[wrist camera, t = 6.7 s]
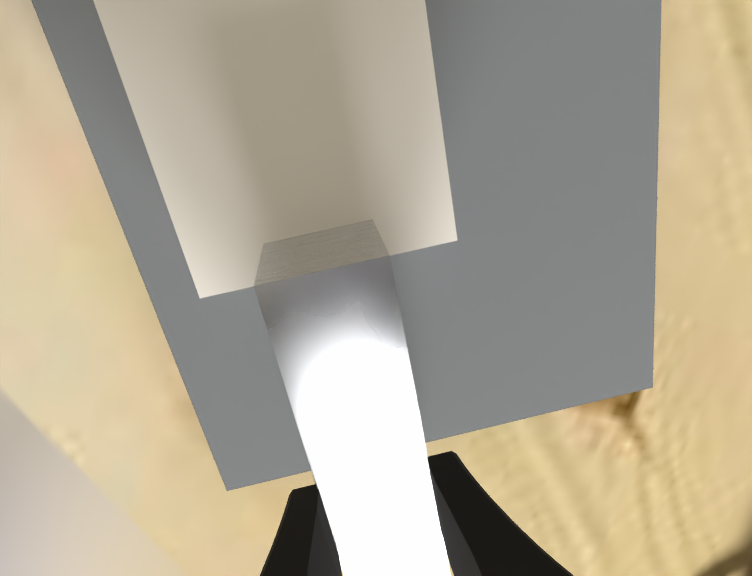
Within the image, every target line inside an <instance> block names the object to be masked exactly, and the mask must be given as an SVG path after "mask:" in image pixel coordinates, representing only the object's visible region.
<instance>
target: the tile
mask: <svg viewBox="0 0 752 576" xmlns="http://www.w3.org/2000/svg"><path fill="white" fill-rule="evenodd" d="M93 1H94V4H95V7H96V9H97V12H98V15H99V18H100V21H101V23H102V26H103V29H104V32H105V35H106V37H107V40H108V43H109V46H110V49H111V51H112V54H113V57H114V60H115V63H116V65H117V68H118V71H119V74H120V77H121V79H122V82H123V85H124V88H125V91H126V93H127V96H128V99H129V102H130V105H131V107H132V110H133V113H134V116H135V119H136V121H137V124H138V127H139V130H140V133H141V135H142V138H143V141H144V144H145V147H146V149H147V152H148V155H149V158H150V161H151V163H152V166H153V169H154V172H155V175H156V177H157V180H158V183H159V186H160V189H161V191H162V194H163V197H164V200H165V203H166V205H167V208H168V211H169V214H170V217H171V219H172V222H173V225H174V228H175V231H176V233H177V236H178V239H179V242H180V245H181V247H182V250H183V253H184V256H185V259H186V261H187V264H188V267H189V270H190V273H191V275H192V278H193V281H194V284H195V287H196V289H197V292H198V295H199V298H205V297H209V296H214V295H218V294H222V293H227V292H231V291H236V290H240V289H245V288H249V287H253V286H254V282H255V278H256V274H257V269H258V265H259V261H260V256H261V252H262V248H263V244H264V243H268V242H273V241H277V240H282V239H286V238H291V237H295V236H300V235H304V234H309V233H313V232H318V231H322V230H327V229H331V228H336V227H340V226H345V225H349V224H354V223H358V222H363V221H367V220H372V219H373V221H374V223H375V225H376V227H377V230H378V232H379V234H380V236H381V238H382V240H383V242H384V244H385V246H386V248H387V251H388V253H389V255H390V256H391V255H395V254H400V253H404V252H409V251H413V250H418V249H422V248H427V247H431V246H435V245H440V244H444V243H449V242H453V241H458V240H457V233H456V225H455V218H454V211H453V203H452V196H451V189H450V181H449V174H448V166H447V159H446V152H445V144H444V137H443V129H442V122H441V115H440V107H439V100H438V92H437V85H436V78H435V70H434V63H433V56H432V48H431V41H430V33H429V26H428V19H427V11H426V4H425V0H93Z"/></svg>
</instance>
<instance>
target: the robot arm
mask: <svg viewBox="0 0 752 576" xmlns="http://www.w3.org/2000/svg"><path fill="white" fill-rule="evenodd" d="M428 460H429V462H428V466H429V471H430V477H431V482H432V487H433V492H434V498H435V503H436V508H437V513H438V519H439V524H440V529H441V533H442V537H443V540H444V544H445V548H446V551H447V555H448V558H449V562H450V565H451V568H452V571H453V573H454V576H573V575H572V574H571V573H570V572H569V571H567V570H566V569H565V568H564V567H562V566H561V565H560V564H559V563H558V562H556V561H555V560H554V559H553V558H552V557H551V556H550V555H548V554H547V553H546V552H545V551H544V550H543V549H542V548H541V547H539V546H538V545H537V544H536V543H535V542H534V541H533V540H532V539H531V538H530V537H529V536H528V535H527V534H526V533H525V532H524V531H522V530H521V529H520V528H519V527H518V526H517V525H516V524H515V523H514V522H513V521H512V520H511V519H510V517H509V516H508V515H507V514H506V513H505V512H504V511H503V510H502V509H501V508H500V507H499V506H498V505H497V504H496V503H495V502H494V501H493V499H492V498H491V497H490V496H489V495H488V494H487V493H486V492H485V490H484V489H483V488H482V487H481V486H480V484H479V483H478V482H477V481H476V480H475V478H474V477H473V476H472V475H471V473H470V472H469V471H468V470H467V468H466V467H465V466H464V464H463V463H462V461H461V460H460V458H459V457H458V455H457V454H456V453H454V452H452V451H449V452H445V453H441V454H437V455H433V456H429V457H428ZM260 576H342V572H341V564H340V556H339V553H338V550H337V546H336V543H335V540H334V537H333V534H332V530H331V527H330V524H329V521H328V518H327V514H326V511H325V508H324V505H323V502H322V498H321V495H320V492H319V489H317V487H316V484H314V485H310V486H306V487H302V488H298V489H294V490H292V492H291V493H290V495H289V498H288V501H287V505H286V508H285V511H284V514H283V517H282V520H281V523H280V526H279V528H278V531H277V534H276V537H275V539H274V542H273V545H272V547H271V550H270V552H269V554H268V557H267V559H266V562H265V564H264V567H263V569H262V572H261V574H260Z"/></svg>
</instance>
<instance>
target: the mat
mask: <svg viewBox="0 0 752 576" xmlns="http://www.w3.org/2000/svg"><path fill="white" fill-rule="evenodd" d="M32 3H33V5H34V8H35V11H36V13H37V16H38V18H39V21H40V23H41V26H42V28H43V31H44V33H45V36H46V38H47V41H48V43H49V46H50V48H51V51H52V53H53V56H54V58H55V61H56V63H57V66H58V68H59V71H60V73H61V76H62V78H63V81H64V83H65V86H66V88H67V91H68V93H69V96H70V98H71V101H72V103H73V106H74V108H75V111H76V113H77V116H78V118H79V121H80V123H81V126H82V128H83V131H84V133H85V136H86V138H87V141H88V143H89V146H90V149H91V151H92V154H93V156H94V159H95V161H96V164H97V166H98V169H99V171H100V174H101V176H102V179H103V181H104V184H105V186H106V189H107V191H108V194H109V196H110V199H111V201H112V204H113V206H114V209H115V211H116V214H117V216H118V219H119V221H120V224H121V226H122V229H123V231H124V234H125V236H126V239H127V241H128V244H129V246H130V249H131V251H132V254H133V256H134V259H135V261H136V264H137V266H138V269H139V271H140V274H141V276H142V279H143V281H144V284H145V287H146V289H147V292H148V294H149V297H150V299H151V302H152V304H153V307H154V309H155V312H156V314H157V317H158V319H159V322H160V324H161V327H162V329H163V332H164V334H165V337H166V339H167V342H168V344H169V347H170V349H171V352H172V354H173V357H174V359H175V362H176V364H177V367H178V369H179V372H180V374H181V377H182V379H183V382H184V384H185V387H186V389H187V392H188V394H189V397H190V399H191V402H192V404H193V407H194V409H195V412H196V414H197V417H198V419H199V422H200V425H201V427H202V430H203V432H204V435H205V437H206V440H207V442H208V445H209V447H210V450H211V452H212V455H213V457H214V460H215V462H216V465H217V467H218V470H219V472H220V475H221V477H222V480H223V482H224V485H225V487H226V490H227V491H229V490H233V489H237V488H241V487H245V486H250V485H254V484H258V483H262V482H266V481H270V480H274V479H278V478H282V477H287V476H291V475H295V474H299V473H303V472H307V471H311V467H310V464H309V461H308V458H307V455H306V451H305V448H304V445H303V442H302V439H301V436H300V432H299V429H298V426H297V423H296V420H295V416H294V413H293V410H292V407H291V404H290V400H289V397H288V394H287V391H286V388H285V385H284V381H283V378H282V375H281V372H280V369H279V365H278V362H277V359H276V356H275V353H274V350H273V346H272V343H271V340H270V337H269V334H268V330H267V327H266V324H265V321H264V318H263V314H262V311H261V308H260V305H259V302H258V299H257V295H256V292H255V289H254V286H253V287H249V288H245V289H240V290H236V291H231V292H227V293H222V294H218V295H214V296H209V297H205V298H199V295H198V292H197V289H196V287H195V284H194V281H193V278H192V275H191V273H190V270H189V267H188V264H187V261H186V259H185V256H184V253H183V250H182V247H181V245H180V242H179V239H178V236H177V233H176V231H175V228H174V225H173V222H172V219H171V217H170V214H169V211H168V208H167V205H166V203H165V200H164V197H163V194H162V191H161V189H160V186H159V183H158V180H157V177H156V175H155V172H154V169H153V166H152V163H151V161H150V158H149V155H148V152H147V149H146V147H145V144H144V141H143V138H142V135H141V133H140V130H139V127H138V124H137V121H136V119H135V116H134V113H133V110H132V107H131V105H130V102H129V99H128V96H127V93H126V91H125V88H124V85H123V82H122V79H121V77H120V74H119V71H118V68H117V65H116V63H115V60H114V57H113V54H112V51H111V49H110V46H109V43H108V40H107V37H106V35H105V32H104V29H103V26H102V23H101V21H100V18H99V15H98V12H97V9H96V7H95V4H94V1H93V0H32ZM425 4H426V11H427V19H428V26H429V33H430V41H431V48H432V56H433V63H434V70H435V78H436V85H437V92H438V100H439V107H440V115H441V122H442V129H443V137H444V144H445V152H446V159H447V166H448V174H449V181H450V189H451V196H452V203H453V211H454V218H455V225H456V233H457V240H458V241H453V242H449V243H444V244H440V245H435V246H431V247H427V248H422V249H418V250H413V251H409V252H404V253H400V254H395V255H391V256H390V259H391V264H392V270H393V275H394V280H395V286H396V291H397V296H398V301H399V307H400V312H401V317H402V322H403V328H404V333H405V338H406V344H407V349H408V354H409V359H410V365H411V370H412V375H413V380H414V386H415V391H416V396H417V402H418V407H419V412H420V417H421V423H422V428H423V433H424V439H425V443H426V442H430V441H435V440H439V439H443V438H447V437H451V436H455V435H459V434H463V433H467V432H472V431H476V430H480V429H484V428H488V427H492V426H496V425H500V424H504V423H508V422H513V421H517V420H521V419H525V418H529V417H533V416H537V415H541V414H545V413H550V412H554V411H558V410H562V409H566V408H570V407H574V406H578V405H582V404H587V403H591V402H595V401H599V400H603V399H607V398H611V397H615V396H619V395H624V394H628V393H632V392H636V391H640V390H644V389H648V388H652V387H653V348H654V304H655V260H656V216H657V172H658V128H659V84H660V40H661V0H425Z"/></svg>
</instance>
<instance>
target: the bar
mask: <svg viewBox="0 0 752 576" xmlns="http://www.w3.org/2000/svg"><path fill="white" fill-rule="evenodd" d="M254 289H255V292H256V295H257V299H258V302H259V305H260V308H261V311H262V314H263V318H264V321H265V324H266V327H267V330H268V334H269V337H270V340H271V343H272V346H273V350H274V353H275V356H276V359H277V362H278V365H279V369H280V372H281V375H282V378H283V381H284V385H285V388H286V391H287V394H288V397H289V400H290V404H291V407H292V410H293V413H294V416H295V420H296V423H297V426H298V429H299V432H300V436H301V439H302V442H303V445H304V448H305V451H306V455H307V458H308V461H309V464H310V467H311V471H312V474H313V477H314V480H315V483H316V487H317V489H319V492H320V495H321V498H322V502H323V505H324V508H325V511H326V514H327V518H328V521H329V524H330V527H331V530H332V534H333V537H334V540H335V543H336V546H337V550H338V553H339V556H340V563H341V566H342V569H343V573H344V576H450V570H449V565H448V560H447V555H446V549H445V544H444V540H443V537H442V533H441V529H440V524H439V519H438V513H437V508H436V503H435V498H434V492H433V487H432V482H431V477H430V471H429V466H428V462H429V460H428V454H427V449H426V444H425V439H424V433H423V428H422V423H421V417H420V412H419V407H418V402H417V396H416V391H415V386H414V380H413V375H412V370H411V365H410V359H409V354H408V349H407V344H406V338H405V333H404V328H403V322H402V317H401V312H400V307H399V301H398V296H397V291H396V286H395V280H394V275H393V270H392V264H391V259H390V255H389V253H388V251H387V248H386V246H385V244H384V242H383V240H382V238H381V236H380V234H379V232H378V230H377V227H376V225H375V223H374V221H373V219H372V220H367V221H363V222H358V223H354V224H349V225H345V226H340V227H336V228H331V229H327V230H322V231H318V232H313V233H309V234H304V235H300V236H295V237H291V238H286V239H282V240H277V241H273V242H268V243H264V244H263V248H262V252H261V256H260V261H259V265H258V269H257V274H256V278H255V282H254Z"/></svg>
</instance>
